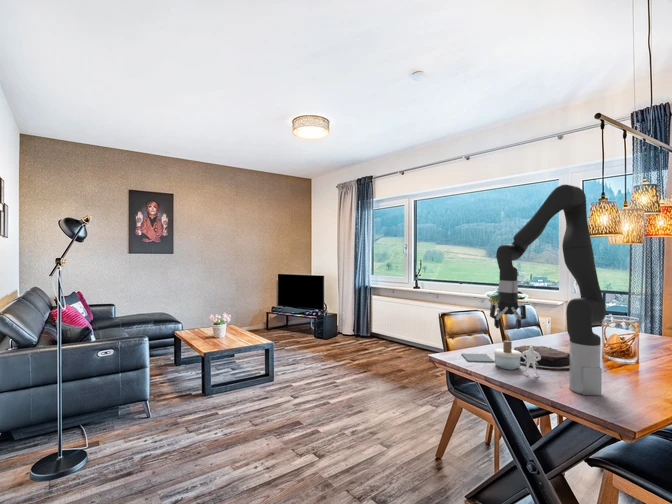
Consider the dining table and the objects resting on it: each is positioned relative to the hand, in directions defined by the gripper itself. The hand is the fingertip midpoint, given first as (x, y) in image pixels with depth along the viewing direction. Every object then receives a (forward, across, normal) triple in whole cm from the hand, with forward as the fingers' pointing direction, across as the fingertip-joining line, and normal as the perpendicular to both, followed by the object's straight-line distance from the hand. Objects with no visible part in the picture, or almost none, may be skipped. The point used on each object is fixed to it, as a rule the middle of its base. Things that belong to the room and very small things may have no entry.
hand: (507, 328), depth 160 cm
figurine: (+17, +5, -11) cm, 21 cm away
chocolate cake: (+17, +19, +11) cm, 28 cm away
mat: (+17, -9, +12) cm, 22 cm away
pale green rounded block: (+17, 0, 0) cm, 17 cm away
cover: (+11, 0, 0) cm, 11 cm away
